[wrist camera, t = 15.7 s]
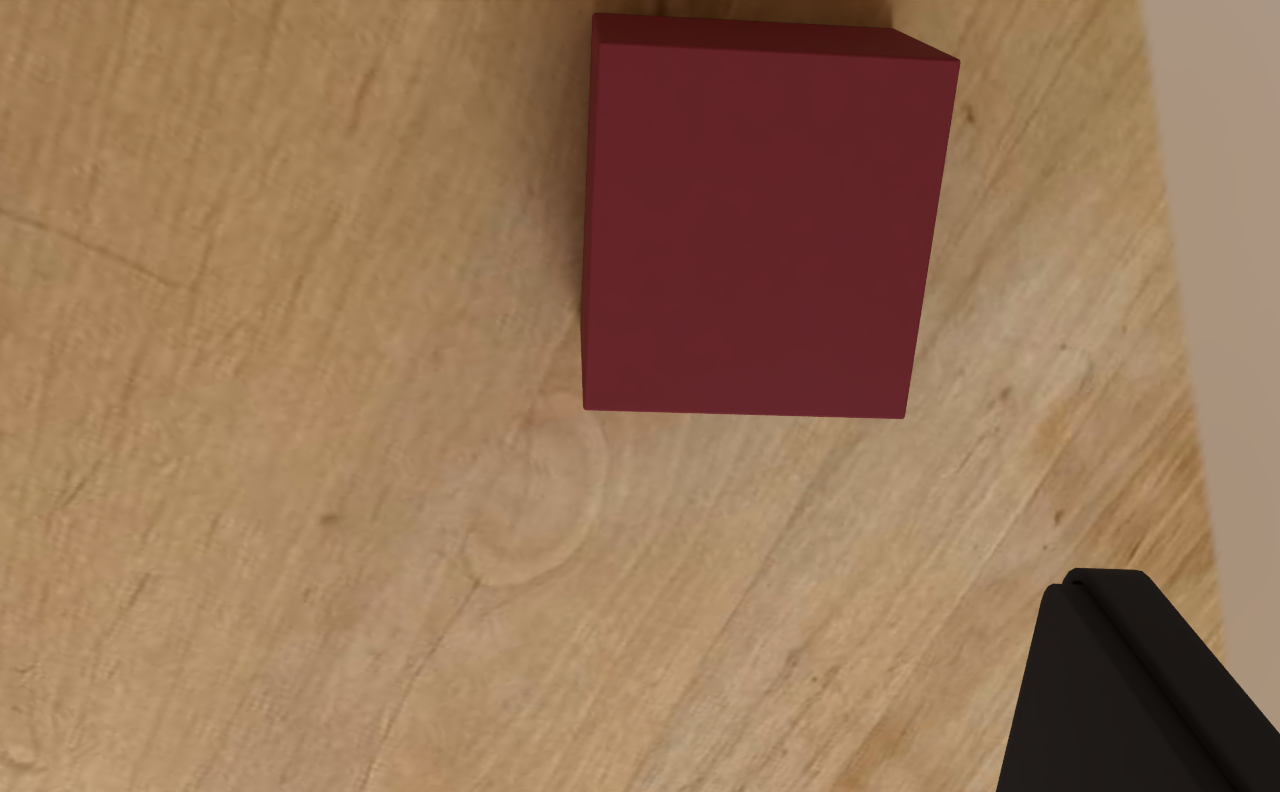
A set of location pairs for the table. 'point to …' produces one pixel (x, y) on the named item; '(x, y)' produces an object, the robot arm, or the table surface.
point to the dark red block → (758, 215)
